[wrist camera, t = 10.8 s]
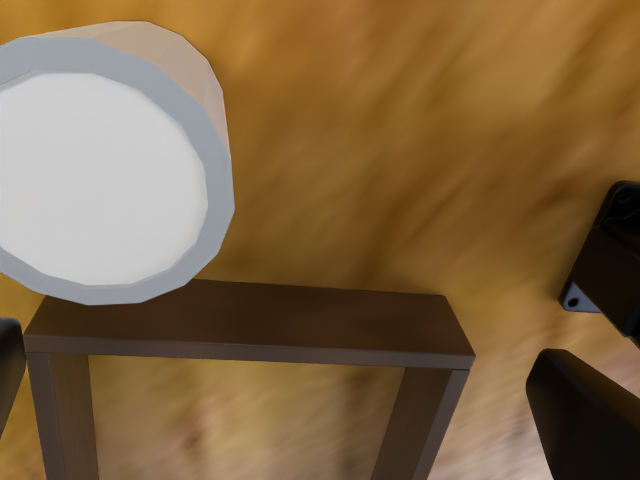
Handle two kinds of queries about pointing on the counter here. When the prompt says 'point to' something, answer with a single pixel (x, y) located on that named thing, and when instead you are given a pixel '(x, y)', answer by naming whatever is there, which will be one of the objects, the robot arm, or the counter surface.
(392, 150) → the counter surface
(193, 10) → the counter surface
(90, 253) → the shot glass
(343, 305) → the brown square frame
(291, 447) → the counter surface
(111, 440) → the counter surface
